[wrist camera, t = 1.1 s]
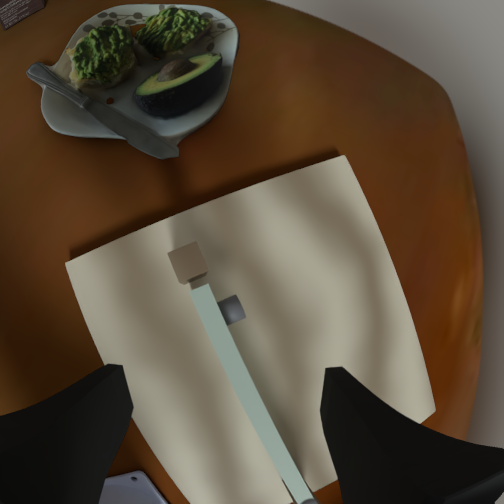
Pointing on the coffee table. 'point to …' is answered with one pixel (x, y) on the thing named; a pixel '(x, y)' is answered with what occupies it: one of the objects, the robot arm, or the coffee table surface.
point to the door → (246, 384)
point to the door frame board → (253, 327)
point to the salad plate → (141, 75)
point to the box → (17, 10)
